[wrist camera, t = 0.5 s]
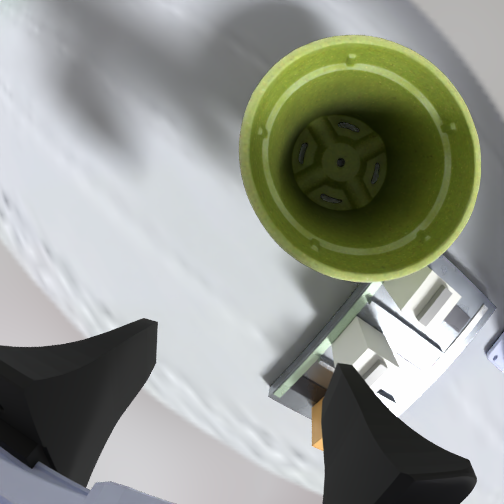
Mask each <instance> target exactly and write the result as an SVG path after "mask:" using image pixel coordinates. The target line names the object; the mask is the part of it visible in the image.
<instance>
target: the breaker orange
mask: <svg viewBox="0 0 504 504" xmlns="http://www.w3.org/2000/svg"><path fill="white" fill-rule="evenodd" d="M323 398H324V397H323ZM323 398H322V399H321V400H320V401H319V402H318V403H317V404H315V405H314V406H313V407H312V446H313V447H315V448H317V449H320V450H322V451H323V439H322V427H321V414H322V401H323Z"/></svg>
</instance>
